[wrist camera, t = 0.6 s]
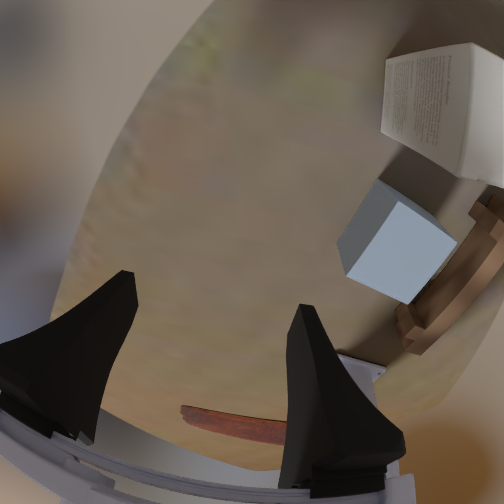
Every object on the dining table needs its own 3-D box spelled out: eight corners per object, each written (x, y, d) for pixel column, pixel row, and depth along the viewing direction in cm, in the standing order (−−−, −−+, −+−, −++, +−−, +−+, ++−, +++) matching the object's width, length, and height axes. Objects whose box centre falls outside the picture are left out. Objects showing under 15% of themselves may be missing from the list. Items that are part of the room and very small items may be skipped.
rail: (411, 330, 26) (420, 355, 23) (385, 320, 25) (393, 347, 23) (506, 208, 18) (527, 226, 15) (485, 186, 17) (508, 202, 14)
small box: (474, 87, 13) (575, 110, 4) (466, 154, 16) (558, 211, 7) (382, 56, 14) (472, 37, 5) (377, 132, 17) (458, 179, 8)
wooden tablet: (344, 422, 39) (345, 431, 38) (321, 442, 45) (321, 449, 43) (180, 397, 39) (178, 406, 37) (180, 420, 44) (178, 428, 42)
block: (391, 270, 23) (407, 304, 19) (336, 242, 22) (345, 276, 18) (432, 214, 20) (457, 242, 16) (376, 177, 19) (398, 200, 15)
